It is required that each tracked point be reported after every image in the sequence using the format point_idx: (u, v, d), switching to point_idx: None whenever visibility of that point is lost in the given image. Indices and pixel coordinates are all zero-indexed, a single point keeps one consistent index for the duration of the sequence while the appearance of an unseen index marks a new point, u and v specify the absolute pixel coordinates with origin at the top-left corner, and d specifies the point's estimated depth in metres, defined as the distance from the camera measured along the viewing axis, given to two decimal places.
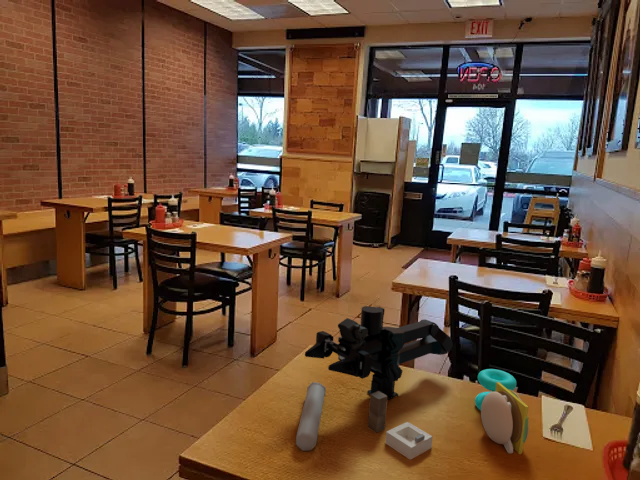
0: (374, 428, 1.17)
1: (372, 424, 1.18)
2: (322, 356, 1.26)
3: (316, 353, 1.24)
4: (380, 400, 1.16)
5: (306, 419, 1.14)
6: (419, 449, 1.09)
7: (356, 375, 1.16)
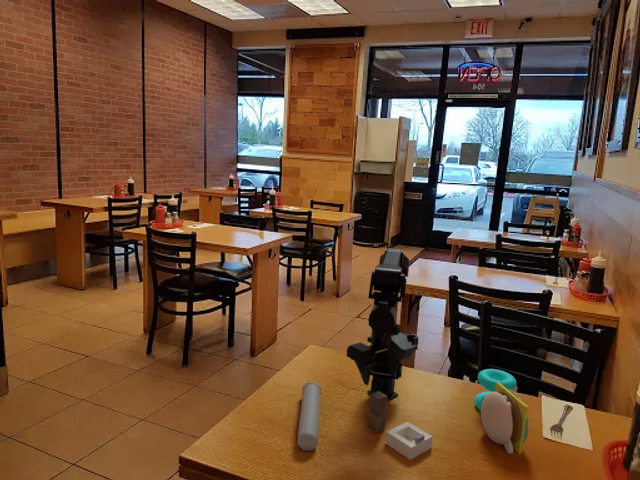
0: (374, 428, 1.17)
1: (372, 424, 1.18)
2: None
3: None
4: (380, 400, 1.16)
5: (306, 419, 1.14)
6: (419, 449, 1.09)
7: None
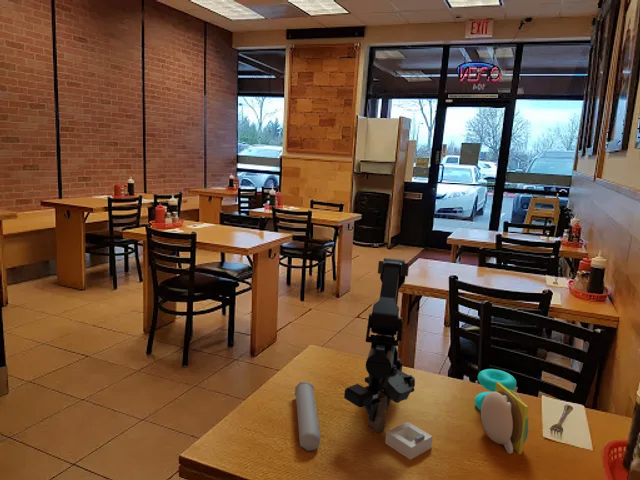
0: (374, 428, 1.17)
1: (372, 424, 1.18)
2: None
3: None
4: None
5: (306, 419, 1.14)
6: (419, 449, 1.09)
7: None
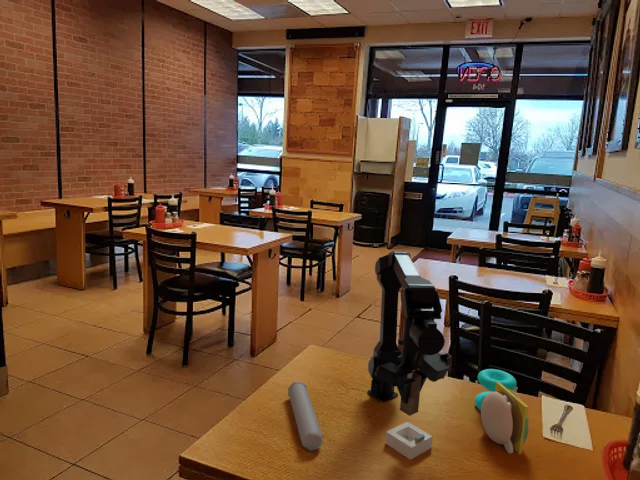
0: (407, 410, 1.10)
1: (405, 406, 1.10)
2: None
3: None
4: None
5: (306, 419, 1.14)
6: (419, 449, 1.09)
7: None
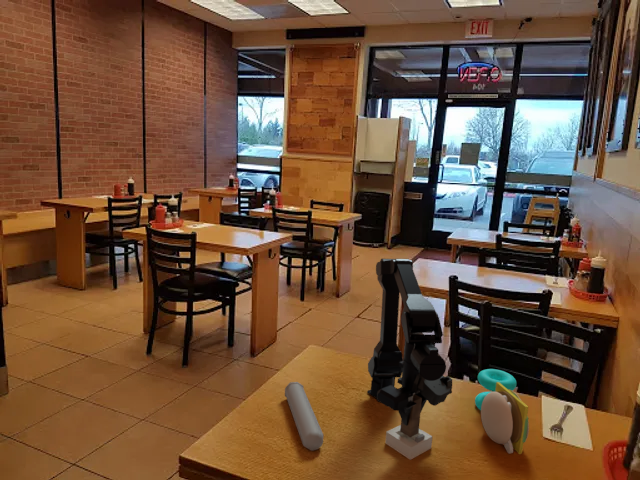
0: (408, 432, 1.10)
1: (405, 428, 1.11)
2: None
3: None
4: (415, 402, 1.09)
5: (306, 419, 1.14)
6: (419, 449, 1.09)
7: None
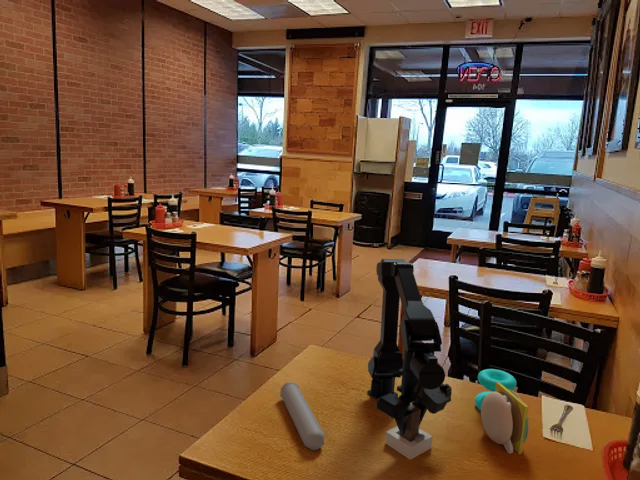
0: None
1: None
2: None
3: None
4: (413, 414, 1.09)
5: (306, 419, 1.14)
6: (419, 449, 1.09)
7: None
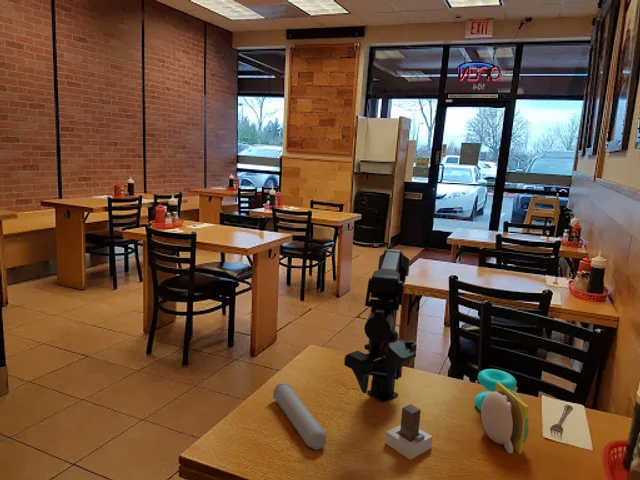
0: None
1: None
2: None
3: None
4: (413, 414, 1.09)
5: (306, 419, 1.14)
6: (419, 449, 1.09)
7: None
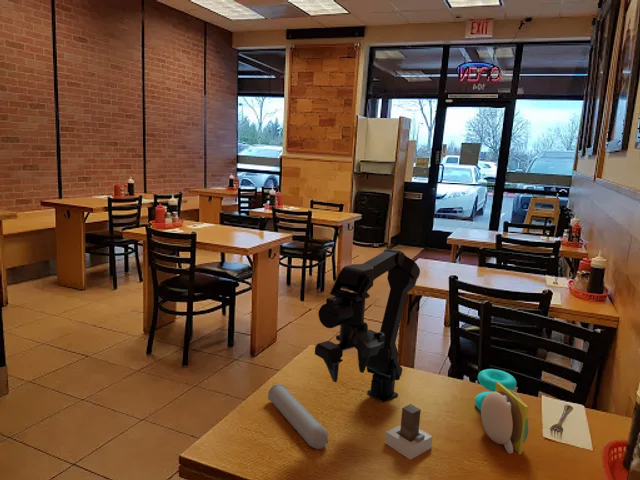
0: None
1: None
2: None
3: None
4: (413, 414, 1.09)
5: (306, 419, 1.14)
6: (419, 449, 1.09)
7: None
